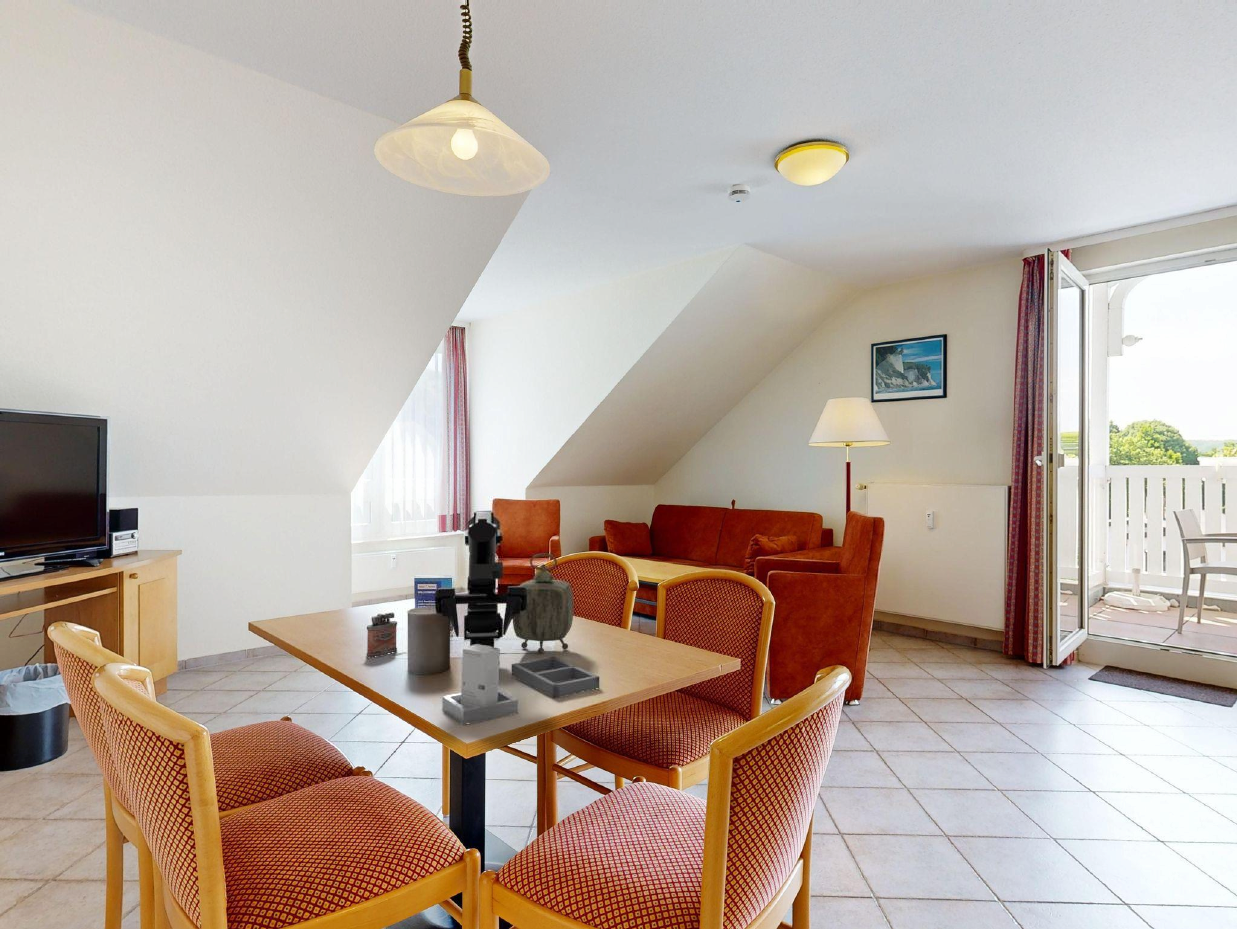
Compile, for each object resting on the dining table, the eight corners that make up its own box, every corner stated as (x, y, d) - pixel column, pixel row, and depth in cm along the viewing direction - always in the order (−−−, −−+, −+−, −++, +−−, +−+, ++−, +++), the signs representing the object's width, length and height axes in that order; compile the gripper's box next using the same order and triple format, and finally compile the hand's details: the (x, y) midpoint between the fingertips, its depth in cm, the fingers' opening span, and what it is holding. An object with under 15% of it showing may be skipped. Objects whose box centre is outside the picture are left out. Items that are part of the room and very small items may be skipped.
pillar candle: (458, 664, 161) (458, 601, 162) (436, 676, 152) (436, 608, 152) (421, 662, 164) (421, 599, 164) (398, 673, 155) (398, 606, 155)
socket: (442, 709, 131) (442, 696, 131) (494, 698, 137) (495, 686, 137) (463, 725, 123) (463, 711, 123) (517, 713, 129) (518, 699, 129)
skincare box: (459, 712, 130) (460, 648, 130) (475, 705, 134) (475, 643, 134) (484, 718, 127) (485, 652, 127) (499, 710, 130) (500, 647, 131)
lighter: (371, 658, 166) (371, 617, 166) (363, 656, 168) (364, 615, 169) (399, 651, 173) (400, 612, 173) (391, 649, 175) (392, 610, 175)
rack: (511, 675, 153) (511, 664, 153) (553, 667, 160) (553, 656, 160) (554, 698, 138) (554, 685, 138) (599, 688, 144) (599, 676, 144)
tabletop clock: (573, 648, 177) (574, 552, 177) (567, 657, 168) (568, 556, 168) (518, 646, 179) (519, 551, 179) (509, 655, 170) (510, 555, 170)
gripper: (435, 549, 141) (430, 613, 130) (527, 547, 144) (529, 610, 133) (438, 581, 148) (433, 644, 137) (524, 579, 152) (527, 641, 141)
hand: (480, 634), depth 137 cm, fingers open, 9 cm apart
